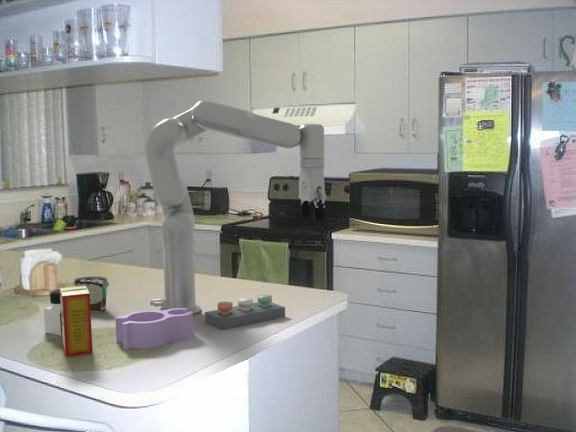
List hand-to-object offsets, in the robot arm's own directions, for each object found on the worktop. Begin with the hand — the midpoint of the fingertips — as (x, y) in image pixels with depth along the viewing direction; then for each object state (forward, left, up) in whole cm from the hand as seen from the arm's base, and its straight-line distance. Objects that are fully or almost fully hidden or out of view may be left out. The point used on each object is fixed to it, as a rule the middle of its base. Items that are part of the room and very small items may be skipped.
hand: (312, 218), depth 207 cm
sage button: (-16, -7, -27) cm, 32 cm away
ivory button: (-22, -10, -27) cm, 36 cm away
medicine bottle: (-74, -15, -29) cm, 81 cm away
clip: (-47, -26, -29) cm, 61 cm away
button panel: (-22, -10, -28) cm, 37 cm away
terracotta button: (-28, -14, -27) cm, 41 cm away
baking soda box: (-67, -32, -29) cm, 79 cm away
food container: (-69, +9, -29) cm, 75 cm away
